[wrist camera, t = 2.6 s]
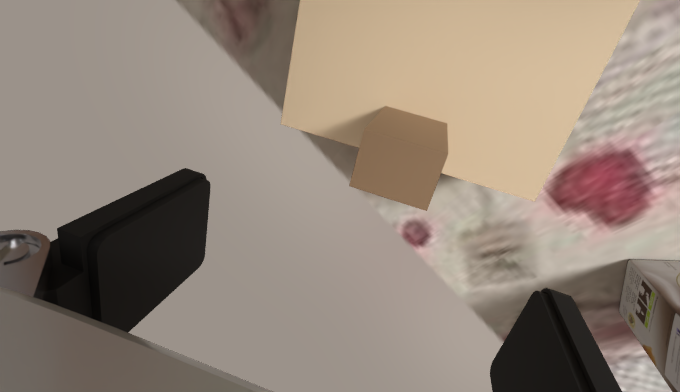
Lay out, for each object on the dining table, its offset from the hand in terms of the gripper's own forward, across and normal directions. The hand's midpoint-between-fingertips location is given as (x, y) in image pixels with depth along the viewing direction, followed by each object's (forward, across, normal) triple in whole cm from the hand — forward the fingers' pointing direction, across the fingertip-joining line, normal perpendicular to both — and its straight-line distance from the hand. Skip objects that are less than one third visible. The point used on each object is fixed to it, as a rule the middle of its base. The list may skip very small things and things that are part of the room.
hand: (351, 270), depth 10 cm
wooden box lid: (+16, 0, -6) cm, 17 cm away
